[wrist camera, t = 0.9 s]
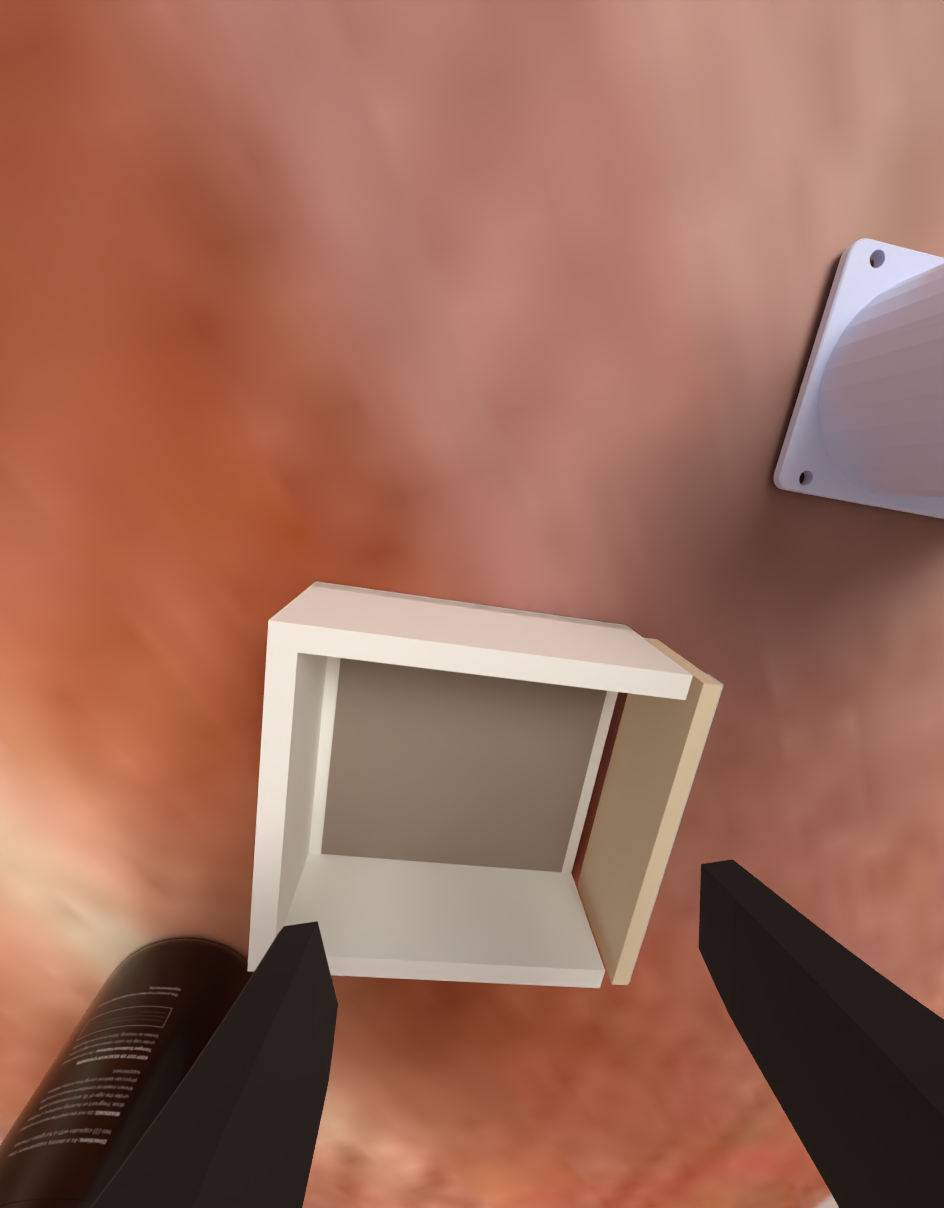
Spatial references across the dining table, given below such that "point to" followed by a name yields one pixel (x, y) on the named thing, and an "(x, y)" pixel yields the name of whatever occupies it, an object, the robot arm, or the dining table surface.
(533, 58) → the dining table surface
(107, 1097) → the supplement bottle
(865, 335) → the robot arm
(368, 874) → the carton
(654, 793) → the flap
